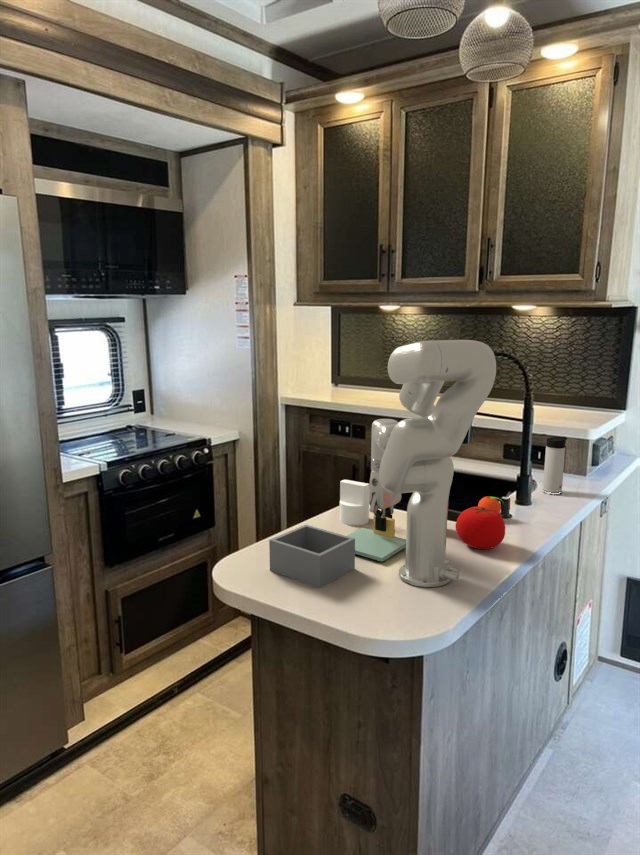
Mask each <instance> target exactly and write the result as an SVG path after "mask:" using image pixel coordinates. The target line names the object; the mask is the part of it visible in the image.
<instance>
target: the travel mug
mask: <svg viewBox="0 0 640 855" xmlns="http://www.w3.org/2000/svg"><path fill="white" fill-rule="evenodd" d="M566 440H568V438H567V437H566V436H551V437H548V438H546V444H545V455H544V468H543V469H544V471H543V481H542V483H543V484H542V491H543V490H544V491H546V492H551V493H559V492H562V493H563V480H564V467H565V455H566V454H565V452H566Z"/></svg>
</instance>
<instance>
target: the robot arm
mask: <svg viewBox="0 0 640 855" xmlns="http://www.w3.org/2000/svg"><path fill="white" fill-rule="evenodd" d="M496 360H497V359H496V357H495V353H494V351H493V350H492V348H491V347H490V346H489V345H488V344H486V343H484V342H482V341H478V340H471V339H447V340H446V339H443V340H442V339H441V340H439V339H438V340H436V339H435V340H420V341H414V342H412V343H409V344H405V345H400V346H398V347H397V348H395V349H394V350H393V351H392V353H391V354H390V356H389V358H388V361H387V362H388V363H387V374H388V377H389V379H390V380H391V381H392V382H393V383H394V384H398V385H402V387H401V389H400V391H399V395H398V396H399V402H400V404H401V405H402V406H403V407H404V408H405V409H406V410H407V411H409V413H410V412H411V413H413V414H415V415H417V416H419V417H412V418H405V419H402V420H400V421H398V420H396V419H392V418H379V419H375V420H374V421H373V422H372V424H371V447H370V449H371V452H370V455H371V456H370V470H371V471H370V477H369V483H368V484H369V513H373V516H375V529H376V530H379V531H383V532H385V531H386V518H385V517H388V518H392V519H393V515H394V510H395V506H396V504H398V503H400V502H401V500H402V494H406V493H407V494H408V493H412V494H411V496H410V497H409V500H408V503H407V508H406V536H405V537H406V538H405V539H406V547H405V564H402V565H401V566H400V567H399V568H398V576H399V578H400V580H402V581H404V582H405V583H407V584H409V585H413V586H416V587H421V588H436V587H437V588H438V587H441V586H445V585H447V584H448V583H450V582H451V581H455V582H459V580H460V570H459V569H457V568H453V567H451V566H450V560H449V559H446V557H447V556H446V554H447V531H448V512H449V511H448V510H449V499H450V498H449V496H450V490H451V486H452V483H453V480H454V479H453V477H454V475H455V474H454V471H455V470H454V469H455V467H454V462H453V459H452V456H455V455H456V454H457V453H458V452H459V450H460V448H461V446H462V444H463V442H464V440H465V438H466V436H467V433H468V431H469V429H470V428H471V426H472V423H473V420H474V418H475V417H476V415H477V413H478V412H479V410H480V408H481V407H482V406H483V404H484V403H485V401H486V399H487V398H488V396H489V395H490V394H491V391H492V389H493V386H494V384H495V381H496V380H495V379H496V376H497V362H496ZM451 381H452V382H454V381H455V383H454V384H452V386H450V387H448V388H447V389H446V390H445V391H444V392H443V393H442V394H441V395H440V396H439V394H440V392H441V390H442V388H443V385H444V384H445V382H451ZM438 396H439V398H438ZM437 398H438V400H437ZM436 400H437V401H436ZM435 402H436V404H435Z"/></svg>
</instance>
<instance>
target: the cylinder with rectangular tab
mask: <svg viewBox="0 0 640 855" xmlns="http://www.w3.org/2000/svg"><path fill="white" fill-rule="evenodd" d="M369 484H370V483H368V482H367V483H366V482H361V481H355V480H350V479H342V480H340V483H339V522H340V523H341V524H344V525H347V526H362V525H366V524H368V523H369V520H370V511H369V510H370V505H369Z"/></svg>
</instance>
